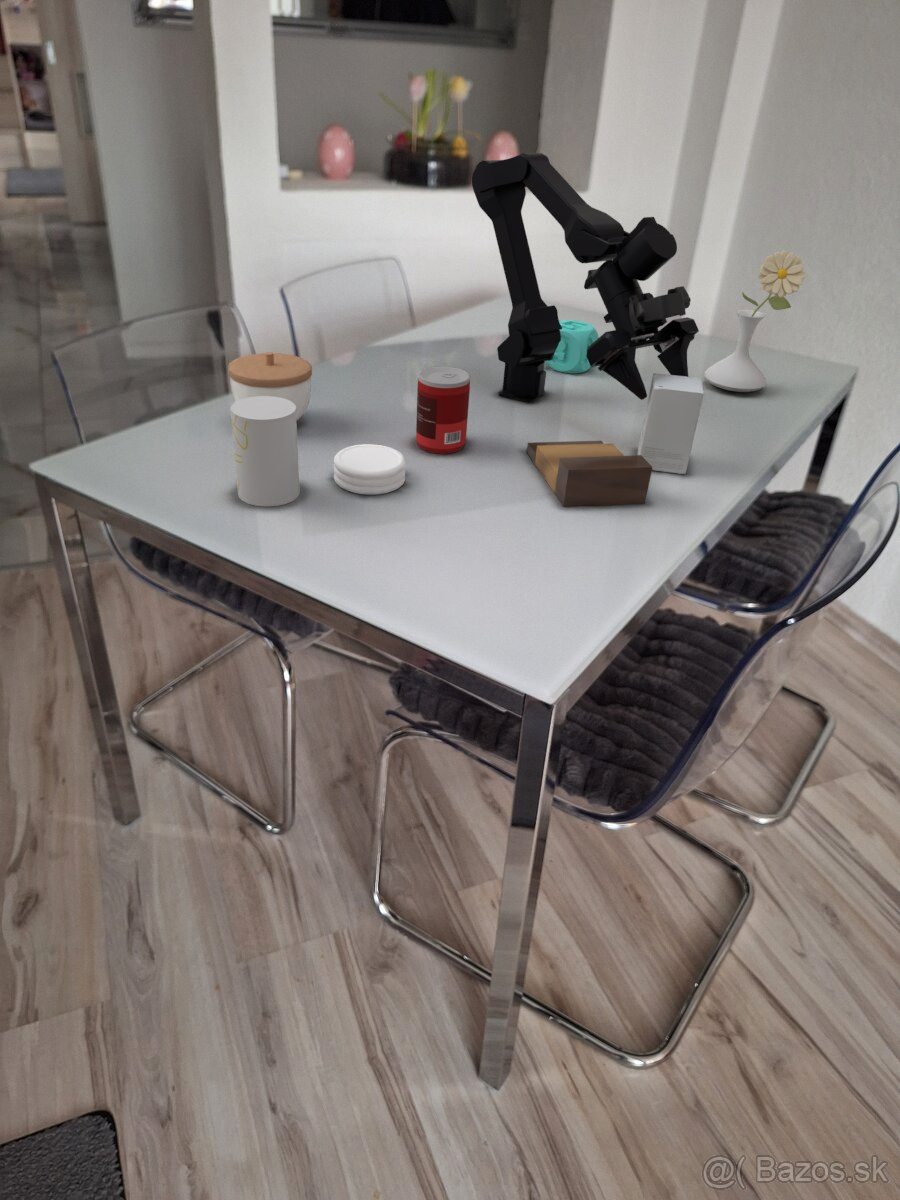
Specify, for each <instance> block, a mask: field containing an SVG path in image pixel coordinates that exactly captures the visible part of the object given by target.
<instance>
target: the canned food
mask: <svg viewBox="0 0 900 1200" xmlns="http://www.w3.org/2000/svg"><path fill="white" fill-rule="evenodd" d="M416 389H417V390H416V391H417V393H416V395H417V396H416V397H417V398H416V421H415V422H416V425H415V441H416V444H417V446H418V448H420V449H421V450H423V451H424V452H428V453H432V454H441V455H442V454H453V453H456V452H458V451H461V450H462V449H463V448H464V447H465V444H466V441H467V431H468V430H467V429H468V419H469V403H470V391H471V390H470V389H471V374H469V372H467V371H465V370H463V369H461V368H457V367H452V366H432V367H427V368H424V369H421V370H420V371H419V372H418V375H417V388H416Z"/></svg>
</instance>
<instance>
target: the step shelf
mask: <svg viewBox="0 0 900 1200" xmlns="http://www.w3.org/2000/svg"><path fill="white" fill-rule="evenodd" d="M526 453H527V454H528V456H529V457H530V459H531V461H532V462H533V464H534V465H535V466H536V468H537V469H538V471H539V472H540V474H541V476H542V477H543V478H544V480H545V481H546V483H547V484H548V486H549V488H550V489H551V490H552V492H553V493H554V496H556V498H557V499H558V501H559V503H560V504H561V506H562V507H563V508H570V507H571V508H572V507H589V506H591V507H592V506H594V507H595V506H613V505H615V506H616V505H637V504H646V501H647V497H648V492H649V486H650V483H651V482H650V481H651V477H652V471H653V470H652V466H651V465H650V464H649V463H648V462H647V461H646V460H645V459H644V457H643V456H642V455H638V454H637V455H636V454H635V455H633V454H632V455H631V454H630V455H624V454H623V453H622V452H621V451H620V449H619V448H618V447H617V446H616V445H615V444H614V443H612V442H611V443H604V442H603V440H573V441H543V442H542V441H539V442H537V441H536V442H527V445H526Z"/></svg>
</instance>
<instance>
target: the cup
mask: <svg viewBox="0 0 900 1200" xmlns="http://www.w3.org/2000/svg"><path fill="white" fill-rule="evenodd" d="M230 418H231V419H230V420H231V430H232V440H233V451H234V452H233V453H234V463H235V474H236V486H237V487H236V488H237V496H238V498H239V499H240V500H241V501H242V502H244V503H246V504H248V505H252V506H256V507H277V506H283V505H286V504H289V503H291V502H294V501H295V500H296V499H298V497H299V495H300V492H301V491H300V490H301V489H300V470H299V469H300V468H299V467H300V466H299V448H298V447H299V446H298V427H297V426H298V424H297V423H298V422H297V421H296V406H295V404H294V403H293V402H291V401H289V400H287V399H284V398H280V397H273V396H256V397H249V398H244V399H241V400H238V401H236V402H233V403H232V404H231V406H230Z"/></svg>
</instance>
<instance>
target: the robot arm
mask: <svg viewBox="0 0 900 1200" xmlns="http://www.w3.org/2000/svg"><path fill="white" fill-rule="evenodd" d="M471 186H472V190H473V193H474V195H475V198H476V201H477V204H478V207H479V208H480V209H481V210H482V211H483V212H484V214H485V215H486V216H487V217H488V218H489V219H490V220H491V222H492V227H493V230H494V234H495V238H496V239H495V240H496V243H497V248H498V250H499V256H500V259H501V264H502V269H503V272H504V277H505V281H506V285H507V290H508V293H509V298H510V301H511V306H512V309H511V312H510V316H509V319H508V323H507V329H508V336H507V338H505V339H504V340H503V341H502V342H501V343H500V344H499V345H498V346H497V348H496V350H497V359H498V361H499V362H502V363H504V369H503V370H504V372H503V382H502V389H501V390H499V391H498V393H497V395H498V396H501V397H505V398H509V399H512V400H518V401H522V402H525V403H526V402H527V403H533V402H535V400H537V399H539V398H540V397H542V395H544V394H545V392H546V390H545V386H546V377H547V371H546V370H545V363H546V361H550V360H552V358H553V356H554V353H555V351H556V349H557V347H558V344H559V342H560V341H561V333H560V330H561V329H562V327H561V325H560V323H559V321H560V319H559V312H558V308H557V306H556V305H547V304H546V302H545V301H544V300H543V299H542V296H541V292H540V288H539V282H538V279H537V274H536V271H535V265H534V262H533V258H532V254H531V248H530V244H529V241H528V235H527V232H526V228H525V227H526V226H525V223H524V219H523V215H522V210H523V208H524V207H523V206H524V202H525V200H526V199H525V198H526V195H527V192H526V188H527V189H528V190H529V191H530V193H531V194H532V195H533V196H534V197H535V198H536V199H537V200H538V201H539V203H540V204H541V205H542V206H543V207H544V209H546V210H547V212H548V213H549V214H550V215H551V216H552V217H553V218H554V220H555V221H556V222H557V223H558V224H559V225H560V226H561V228H562V230H563V231H564V242H565V244H566V246H567V247H568V249H569V251H570V252H571V255H572V256H573V257H574V259H575V260H576V261H578V262H579V263H581V264H593V263H601V262H603V263H602V264H601V265H600V266H599V267H598V268H594V269H589V270H587V276H586V279H585V281H584V285H583V289H584V290H591V289H592V290H593V289H597V292H598V294H599V295H600V298H601V300H602V302H603V305H604V307H605V310H606V312H607V313H606V314H605V315H604V316H603V320H604V322H605V323H606V324H609V323H610V324H611V323H612V325H613V328H614V330H608V331H605V332H604V333H602V335H600V336H598V337H599V338H598V339H597V340H596V341H595V342H594V343H592V344H591V345H590V346H589V347H588V348H587V355H586V357H587V359H588V361H589V364H590V366H591V367H590V368H596V367H597V369H598V371H599V372H603V373H606V374H607V375H608V376H610V377H611V378H613V379H614V380H615V381H617V382H619V383H620V384H621V385H622V386H623V387H624V388H626V389H627V390H628V391H629V392H631V393H632V394H633V395H634V396H636V397H637V398H638V399H640V400H641V401H642V400H643V401H644V400H645V399H647V398H648V393H647V390H646V386H645V383H644V381H643V378H642V376H641V373H640V371H639V368H638V366H637V365H638V364H637V363H636V354H637V353H636V351H637V349H641V348H647V347H652V346H653V349H654V350H655V351H656V352H658V353H659V354H657V356H656V357H657V358H658V360H659V361H660V363H661V364H662V366H663V367H664V368H665V369H666V371H667V372H668V373H669V375H676V376H686V377H689V368H688V367H689V366H688V349H689V347H690V343H691V342H692V341H693V340H695V338H696V337H695V336H696V334H698V333H699V332H700V329H699V327H698V325H697V323H696V321H695V319H694V318H692V317H691V318H690V317H688V316H687V317H682V316H685V315H686V314H687V312H686V310H687V309H689V308H690V306H691V299H692V298H691V297H690V295H689V293H688V292H687V291H688V290H686V288H685V286H683V285H682V286H677V287H673V288H669V289H668V290H667V294H662V295H658V296H654V295H653V294H652V293H651V292H645V293H644V292H643V289H642V287H641V285H640V282H639V281H641V282H645V281H647V280H649V279H650V278H651V277H652V276H654V274H655V273H657V272H658V271H659V270H660V269H661V268H662V267H664V265H666V264H667V263H668V262H669V261H670V260H671V259H673V258H674V257H675V256H676V254H677V252H678V245H677V244H678V243H677V240H676V238H675V235H674V234H672V233H671V232H670V231H669V230H668V229H667V228H666V227H665V226H663V225H662V224H660V223H658V222H657V220H656V218H655V216H644V217H643V218H641V220H640V221H638V223H637V224H636V226H635V227H634V228H633V229H632V230H631V231H630V232H628V231H626V230H624V227H623V225H622V224H621V223H620V222H619V221H618V220H617V219H615V218H614V217H612V216H611V215H609V214H608V213H606V212H605V211H602V210H599V209H597V208H594V207H593V206H591V205H589V204H588V203H587V202H586V201H585V200H584V199H583V198H582V196H581V195H580V194H579V193H578V192H577V190H575V189H574V188H573V187H572V185H571V184H570V183H569V182H568V181H567V180H566V179H565V178H564V177H563V175H561V174H560V172H559V171H558V170H557V169H556V168H555V167H554V166H553V165H552V163H551V161H550V158H549V157H548V155H545V154H544V153H542V152H522V153H520V154H518V155H515V156H512V157H509V158H505V159H491V160H488V159H486V160H481V161H479V162H478V163H477V164H476V165H475V168H474V170H473V172H472V173H471ZM677 316H679V317H680V318H675V319H672V320H671V321H669V322H668V320H667V319H669V318H673V317H677ZM681 317H682V318H681ZM660 327H662V328H660ZM659 328H660V329H659Z"/></svg>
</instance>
